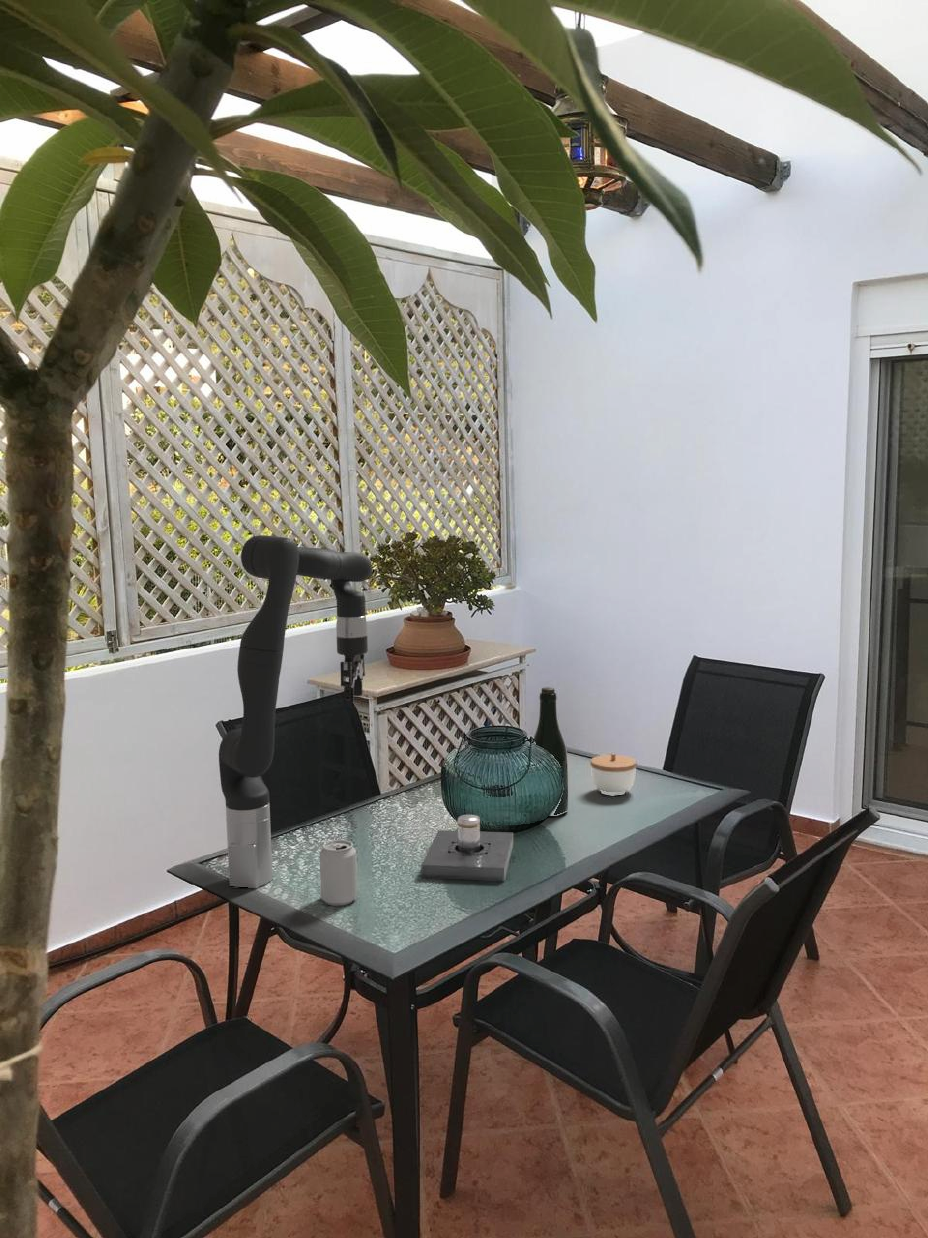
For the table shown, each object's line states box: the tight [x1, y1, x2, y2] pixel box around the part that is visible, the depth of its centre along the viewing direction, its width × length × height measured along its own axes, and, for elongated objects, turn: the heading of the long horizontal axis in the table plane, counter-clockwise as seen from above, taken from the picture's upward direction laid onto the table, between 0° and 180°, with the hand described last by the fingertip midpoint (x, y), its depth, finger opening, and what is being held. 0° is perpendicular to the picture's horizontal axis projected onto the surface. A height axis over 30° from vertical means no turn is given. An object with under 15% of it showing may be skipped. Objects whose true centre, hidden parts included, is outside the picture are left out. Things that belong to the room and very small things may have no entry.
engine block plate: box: [421, 829, 514, 882], centre depth 220 cm, size 22×18×3 cm
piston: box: [457, 814, 481, 854], centre depth 220 cm, size 5×5×10 cm
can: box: [319, 839, 358, 907], centre depth 199 cm, size 8×8×12 cm
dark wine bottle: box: [532, 686, 570, 815], centre depth 251 cm, size 10×10×33 cm
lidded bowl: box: [590, 752, 637, 792], centre depth 268 cm, size 13×13×11 cm
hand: (353, 699), depth 239 cm, fingers open, 8 cm apart
